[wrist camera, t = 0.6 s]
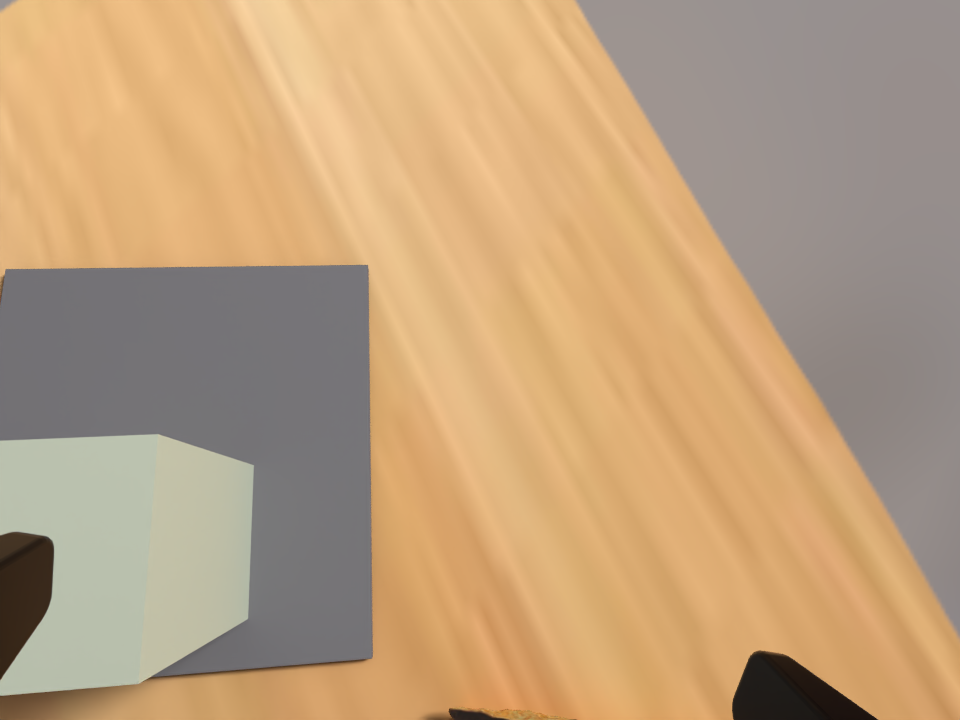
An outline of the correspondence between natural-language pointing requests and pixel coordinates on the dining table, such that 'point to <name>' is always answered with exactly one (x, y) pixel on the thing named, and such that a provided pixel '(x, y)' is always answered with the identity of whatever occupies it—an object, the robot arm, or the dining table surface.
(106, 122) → the dining table surface
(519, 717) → the shard
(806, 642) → the dining table surface
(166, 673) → the rubber mat
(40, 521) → the sage block
